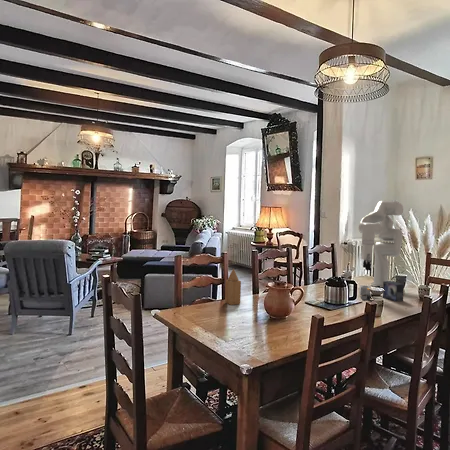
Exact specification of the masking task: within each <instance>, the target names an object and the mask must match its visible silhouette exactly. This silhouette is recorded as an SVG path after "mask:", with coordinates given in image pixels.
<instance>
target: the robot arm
mask: <svg viewBox="0 0 450 450" xmlns="http://www.w3.org/2000/svg"><path fill="white" fill-rule="evenodd" d="M403 213H404V206H403V204H402V203H400V202H399V201H396V200H380V201H378V202H377V203H376V205H375V207H374V209H373V211H372V212H370V213H369V214H367V215H365V216H363V217H362V218H361V221H360V222H359V225H358V231H359V232H360V234H361V245H362V249H361V250H362V251H361V259H362V268H364V271H371V270H372V269H371V268H372V260H373V251H374V263H373V264H374V267H373V282H371V284H370V285H371V286H372V287H375V286H380V287H379V288H381V287H383V282H384V281H389V270H390V269H389V267H390V262H389V259H388V258H387V257H394V258H395V257H396V258H397V257H400V254H401V250H402V245H403V237H404V236H403V235H404V234H403V230H402V229H400V228H393V226H394V221H393V220H392V218H391V217H390V216H397V217H398V216H402V215H403ZM379 222H380V223H379ZM375 235H377V236H378V239H379V241H377V242H376V243H375Z"/></svg>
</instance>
